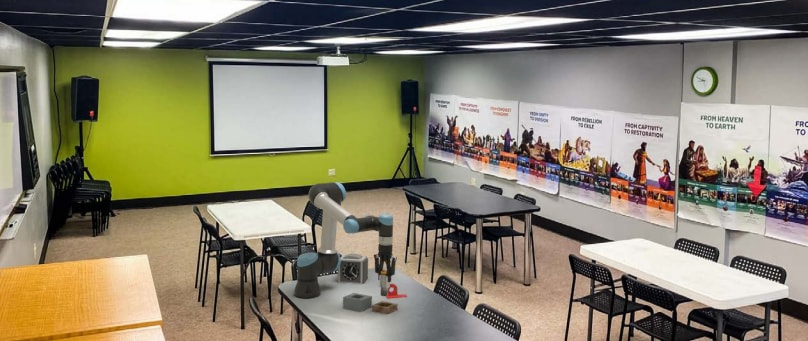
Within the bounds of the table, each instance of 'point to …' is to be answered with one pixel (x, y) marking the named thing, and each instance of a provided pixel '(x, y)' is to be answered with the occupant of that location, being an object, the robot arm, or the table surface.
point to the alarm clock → (353, 269)
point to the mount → (384, 307)
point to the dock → (357, 302)
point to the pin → (383, 283)
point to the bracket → (394, 293)
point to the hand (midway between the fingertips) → (384, 287)
